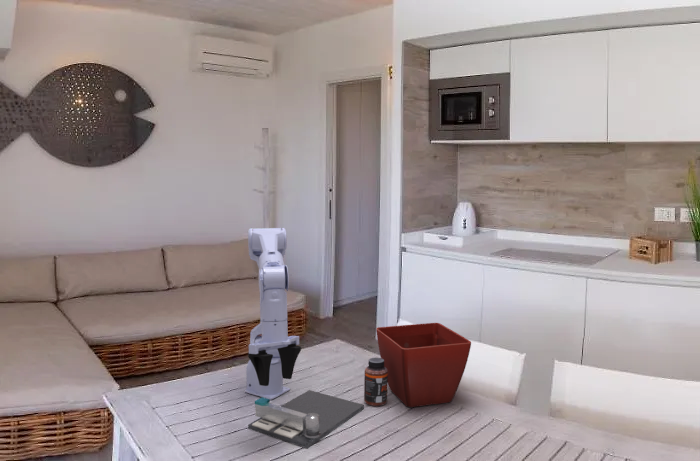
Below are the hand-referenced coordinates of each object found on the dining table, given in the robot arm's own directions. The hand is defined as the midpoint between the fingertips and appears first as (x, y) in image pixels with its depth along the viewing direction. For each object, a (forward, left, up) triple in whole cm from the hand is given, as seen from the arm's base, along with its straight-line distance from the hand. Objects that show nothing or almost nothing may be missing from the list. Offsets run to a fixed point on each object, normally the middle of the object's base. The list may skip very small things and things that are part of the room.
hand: (275, 381), depth 131 cm
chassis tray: (0, +12, -13) cm, 18 cm away
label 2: (+2, +3, -13) cm, 14 cm away
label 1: (-5, +3, -13) cm, 14 cm away
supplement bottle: (+9, +29, -13) cm, 33 cm away
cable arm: (-2, +4, -11) cm, 12 cm away
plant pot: (+17, +39, -14) cm, 45 cm away
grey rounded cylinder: (+7, +4, -13) cm, 15 cm away
